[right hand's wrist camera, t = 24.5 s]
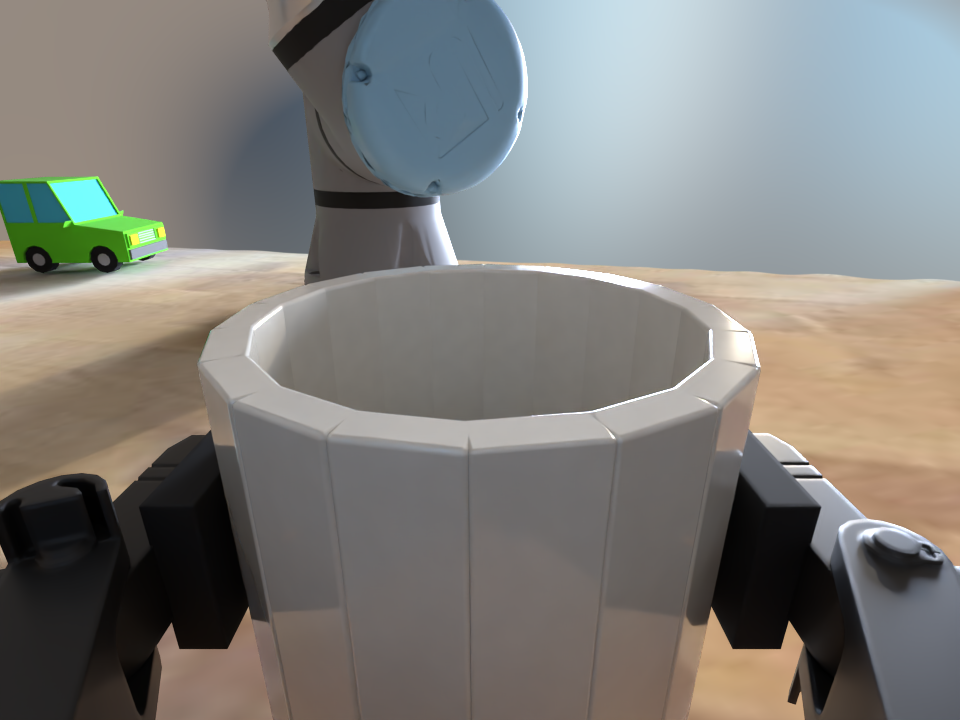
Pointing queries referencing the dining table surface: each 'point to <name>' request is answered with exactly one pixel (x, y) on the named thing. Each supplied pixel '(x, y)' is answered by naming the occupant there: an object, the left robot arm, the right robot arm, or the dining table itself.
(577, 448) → the cup
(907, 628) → the right robot arm
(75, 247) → the toy car
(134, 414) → the dining table surface
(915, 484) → the dining table surface
